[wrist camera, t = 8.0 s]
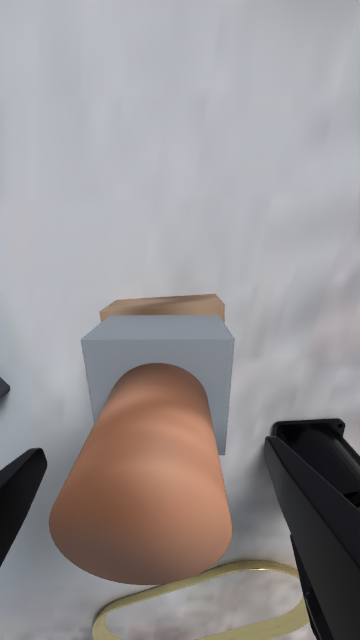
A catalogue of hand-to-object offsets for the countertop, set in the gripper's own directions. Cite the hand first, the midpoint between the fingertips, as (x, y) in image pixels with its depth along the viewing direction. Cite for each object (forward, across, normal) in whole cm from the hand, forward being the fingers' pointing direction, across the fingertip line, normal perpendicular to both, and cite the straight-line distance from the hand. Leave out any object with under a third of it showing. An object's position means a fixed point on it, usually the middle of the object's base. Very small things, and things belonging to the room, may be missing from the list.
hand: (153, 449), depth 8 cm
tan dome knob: (+2, 0, 0) cm, 2 cm away
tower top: (+6, 0, 0) cm, 6 cm away
